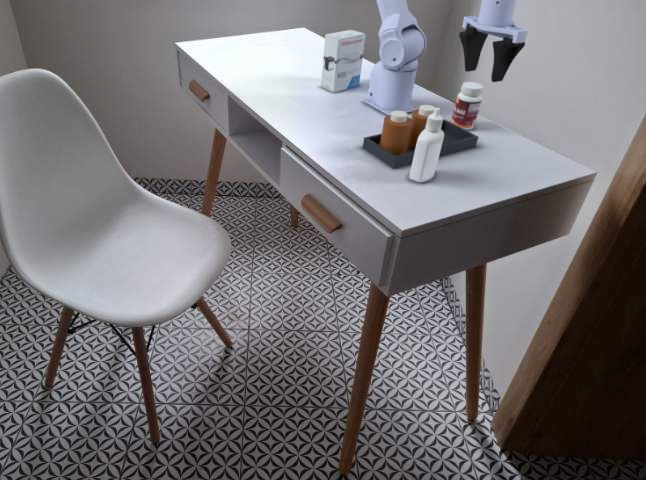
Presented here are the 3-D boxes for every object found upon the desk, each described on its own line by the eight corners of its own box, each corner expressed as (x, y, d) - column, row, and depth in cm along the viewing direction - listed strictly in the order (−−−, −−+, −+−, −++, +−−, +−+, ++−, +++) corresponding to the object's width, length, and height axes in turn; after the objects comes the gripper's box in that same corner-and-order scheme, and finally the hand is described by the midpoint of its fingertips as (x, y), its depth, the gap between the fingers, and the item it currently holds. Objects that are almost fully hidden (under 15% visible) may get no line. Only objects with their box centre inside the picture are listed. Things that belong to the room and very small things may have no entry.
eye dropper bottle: (442, 180, 88) (460, 111, 81) (414, 184, 87) (430, 115, 79) (428, 168, 92) (445, 101, 84) (401, 172, 90) (415, 105, 82)
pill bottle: (445, 122, 108) (455, 82, 102) (464, 120, 109) (475, 79, 104) (459, 131, 104) (470, 90, 99) (478, 129, 106) (490, 88, 100)
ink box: (345, 80, 126) (351, 28, 119) (359, 86, 123) (366, 33, 116) (319, 86, 122) (324, 33, 114) (333, 93, 119) (339, 38, 112)
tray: (362, 147, 97) (363, 137, 96) (442, 129, 105) (444, 119, 104) (393, 168, 91) (395, 157, 90) (475, 147, 99) (478, 136, 98)
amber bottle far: (373, 148, 96) (379, 110, 91) (394, 143, 98) (401, 106, 93) (390, 159, 92) (397, 121, 88) (411, 154, 94) (419, 116, 90)
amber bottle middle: (400, 142, 98) (407, 104, 94) (420, 137, 100) (428, 100, 96) (418, 152, 95) (426, 114, 90) (438, 147, 97) (447, 110, 92)
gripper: (549, -1, 86) (527, 83, 94) (490, -12, 97) (475, 63, 105) (515, 3, 84) (496, 88, 92) (459, -9, 95) (446, 68, 103)
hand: (483, 75), depth 99 cm, fingers open, 7 cm apart
